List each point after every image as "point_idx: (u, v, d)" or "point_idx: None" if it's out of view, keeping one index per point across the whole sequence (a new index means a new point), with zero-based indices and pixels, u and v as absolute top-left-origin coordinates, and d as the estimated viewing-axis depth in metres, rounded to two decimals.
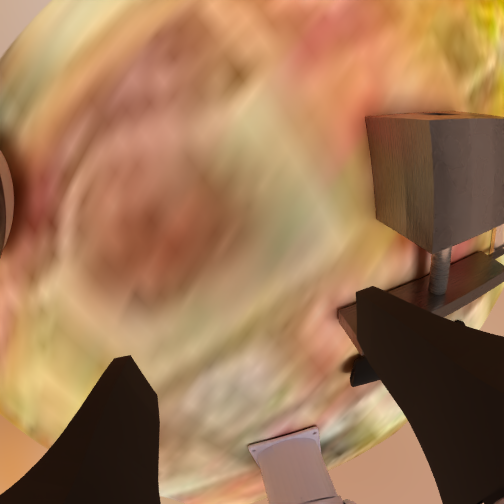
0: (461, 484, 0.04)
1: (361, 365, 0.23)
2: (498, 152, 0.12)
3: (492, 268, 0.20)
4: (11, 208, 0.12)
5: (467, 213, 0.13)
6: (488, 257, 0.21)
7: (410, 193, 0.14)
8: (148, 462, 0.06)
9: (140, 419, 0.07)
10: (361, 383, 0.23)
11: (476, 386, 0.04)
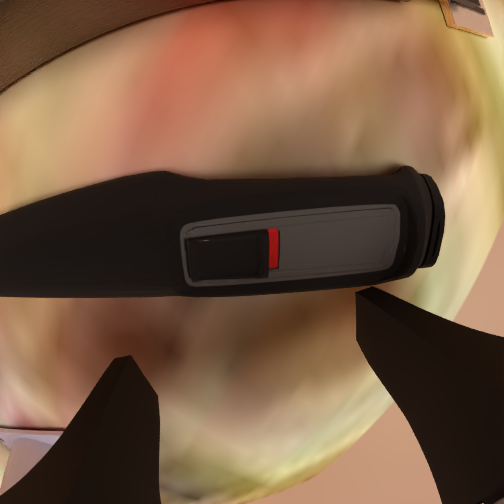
0: (460, 484, 0.04)
1: None
2: None
3: None
4: None
5: None
6: None
7: None
8: (148, 462, 0.06)
9: (140, 419, 0.07)
10: None
11: (475, 386, 0.04)
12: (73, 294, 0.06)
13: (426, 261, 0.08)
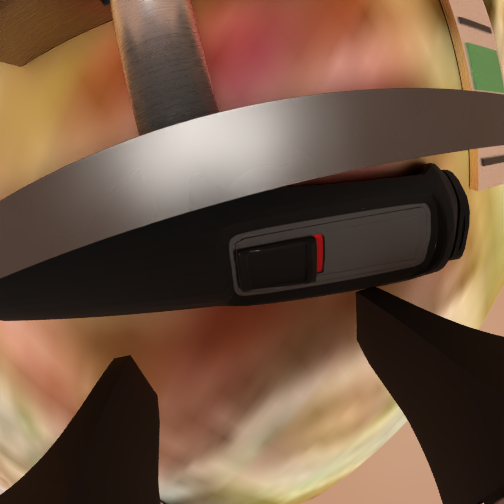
0: (461, 484, 0.04)
1: None
2: None
3: None
4: None
5: None
6: None
7: None
8: (148, 462, 0.06)
9: (140, 419, 0.07)
10: (1, 309, 0.06)
11: (476, 386, 0.04)
12: (117, 313, 0.07)
13: (453, 254, 0.08)
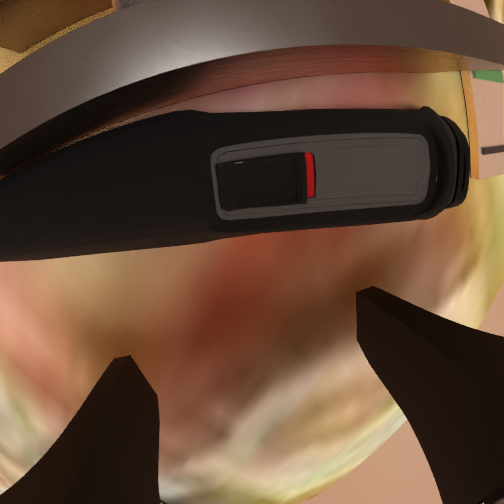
0: (461, 484, 0.04)
1: None
2: None
3: None
4: None
5: None
6: None
7: None
8: (148, 462, 0.06)
9: (140, 419, 0.07)
10: None
11: (476, 385, 0.04)
12: (89, 240, 0.06)
13: (456, 196, 0.07)
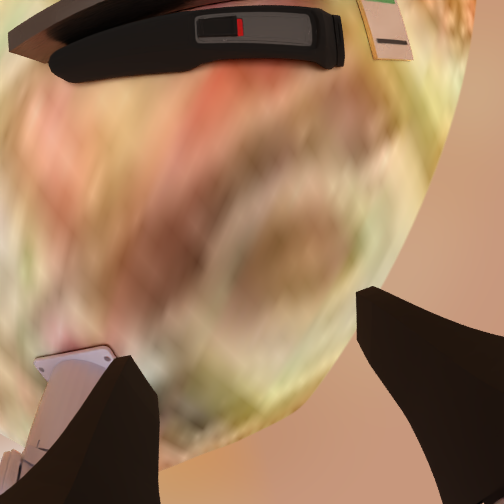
0: (461, 484, 0.04)
1: (74, 42, 0.10)
2: None
3: None
4: None
5: None
6: None
7: None
8: (148, 462, 0.06)
9: (140, 419, 0.07)
10: (62, 59, 0.09)
11: (476, 385, 0.04)
12: (132, 51, 0.10)
13: (337, 44, 0.12)
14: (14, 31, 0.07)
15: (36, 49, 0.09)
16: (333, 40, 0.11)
